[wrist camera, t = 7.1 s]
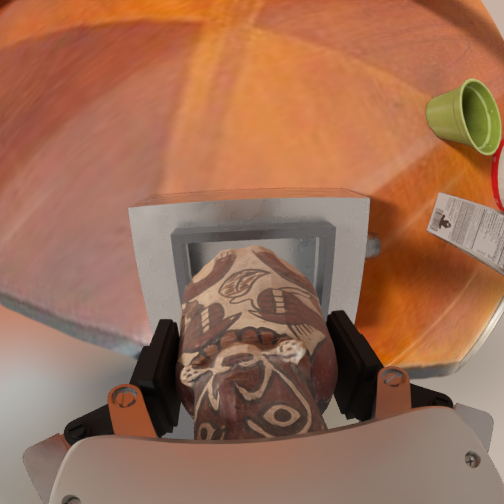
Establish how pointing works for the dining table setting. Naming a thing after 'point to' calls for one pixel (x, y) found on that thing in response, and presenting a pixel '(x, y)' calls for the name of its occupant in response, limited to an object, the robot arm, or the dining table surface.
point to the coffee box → (470, 229)
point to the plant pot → (467, 117)
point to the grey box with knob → (253, 240)
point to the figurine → (253, 349)
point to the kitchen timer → (498, 175)
